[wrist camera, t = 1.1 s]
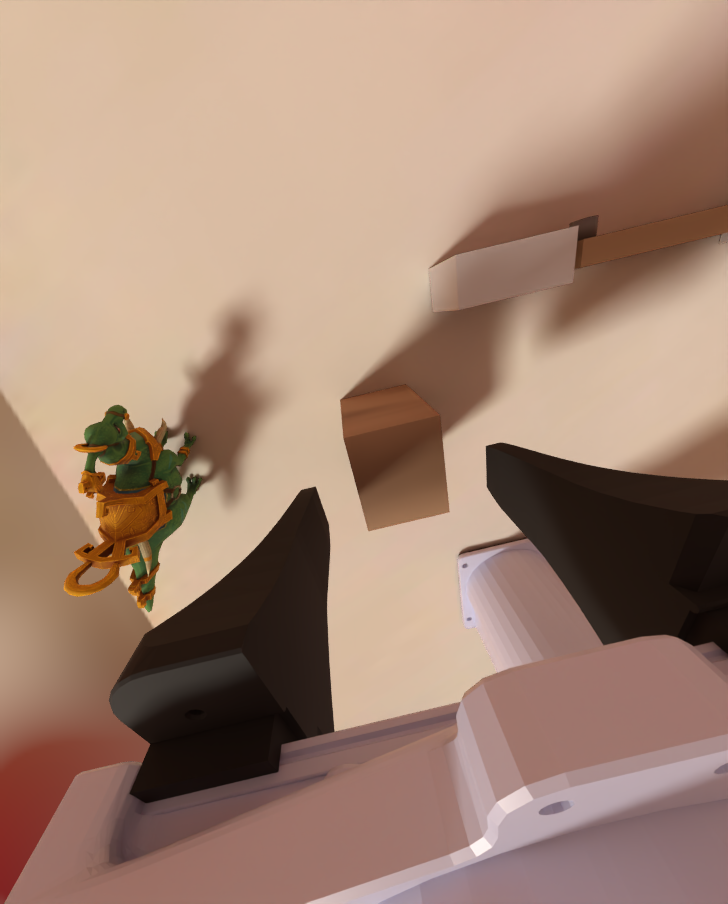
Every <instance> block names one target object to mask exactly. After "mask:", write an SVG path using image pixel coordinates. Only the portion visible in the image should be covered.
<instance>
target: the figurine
mask: <svg viewBox="0 0 728 904" xmlns="http://www.w3.org/2000/svg"><path fill="white" fill-rule="evenodd" d="M123 419H124V422H125V425H124V424H123ZM166 429H167V426H166V423H165V421H164V420H163V418H162V425H161V427H160V429H159V430H158V431H155V436H154V437H153V436H152V435H151V434H150V433H149V432H148V431H147V430H145V429H144V428H141V427H139V428H134V426H133V424H132V422H131V421H130V419H129V414H128V413H127V410H126V409H125V408H124V407H122V406H120V405H115V406H112V407H110V408H109V409H108V411H106V412H105V418H104V419H103V421H102V422H99V423H95V424H92V425H90V426H89V427H88V428H86V429H85V433H84V436H85V440H86V444H78V445H76V446H75V447H74V449H75V450H77V451H79V452H84V453H88V457H87V461H86V466H85V470H84V471H83V472H81V474H83V475H82V479H81V483H79V486H78V490H79V493H83V494H84V493H86V492H87V494H86V497H88V498H92V499H93V498H94V495H93V494H94V493H97V498H96V500H97V501H98V502H96V503H97V510H96V518H100V524H101V525H100V527H99V529H98V531H99V534H100V537H101V538H102V539H103V540H104V542H103V543H102V544H100V545H99V546H97V547H96V548H94V547H93V545H91V544H89V543H88V544H86V545H84V546H83V547H81V548H80V549H78V550H77V551H75V552H74V553H75V555H76V557H77V559H79V560H81V561H83V562H84V564H83V565H81V566H80V567H78V568H77V569H76V570H74V571H73V572H71V573H70V574H69V575H68V577H67V578H66V580H65V583H64V590H65V591H66V592H67V593H68V594H69V595H73V596H77V597H78V596H85V595H90V594H93V593H96V592H98V591H101V590H102V589H104V588H105V587H107V586H108V585H110V584H111V583H112V582H113V581H114V580H115V579H116V578H117V577H118V576H119V567H121V566H126V565H129V564H131V565H132V567H133V570H132V573H131V576H130V580H131V582H132V583H131V585H130V586H129V588H128V591H129V593H130V594H132V595H135V596H137V606H138V608H144V607H145V608H146V610H147V611H148V612H150V611H151V610H152V606H153V599H154V594H155V589H156V587H155V576H156V572H157V571H158V570H159V566H160V563H159V562H158V554H159V550H160V548H161V545H162V543H163V541H164V540H165V539H166V538H167V537H169V536H170V535H171V534H172V533H173V532H174V531H175V530H176V529H177V528H179V527H180V526H181V525H182V523H183V521H184V519H185V517H186V514H187V512H188V509H189V507H190V504H191V501H192V499H193V495H194V494H196V490H197V488H198V487H199V485H200V482H201V480H202V478H198V482H197V483H196V480H197V479H196V477H193V479H192V482H191V479H190V478H189V477H187V479H186V481H187V483H188V486H187V493H186V494H181V487H180V486H181V483H182V478H181V476H180V474H179V472H178V470H177V467H176V466H181V465H182V464H183V462H184V461H185V459H186V458H187V457H188V454H190V447H191V446H192V445H193V443H194V441H195V440H196V436H194V437H192V440H190V439H189V434H188V433H187V432H185V434H184V438H185V443H184V444H185V445H184V446H183V447H181V448H180V450H179V451H178V456H177V455H176V454H175V453H174V452H172V451H170V450H163V446H164V445H165V444H166V443H167V436H168V433H167V431H166ZM97 458H99V460H100V461H101V462H102V463H105V464H107V465H109V466H110V465H117V468H116V475H109V476H108V477H107V481H106V476H105V473H104V472H98V473H96V472H95V461H96V459H97ZM105 481H106V484H105V485H104V486H102V485H103V483H104V482H105ZM91 566H92V567H95V568H99V569H109V568H110V571H109V573H108V574H107V576H105V578H104V579H102V580H100V581H98V582H96V583H93V584H91V585H79V583H78V580H79V578H80V577H81V576H82V575H83V574H84V573H85V572H86V570H88V569H89V568H90V567H91Z"/></svg>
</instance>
